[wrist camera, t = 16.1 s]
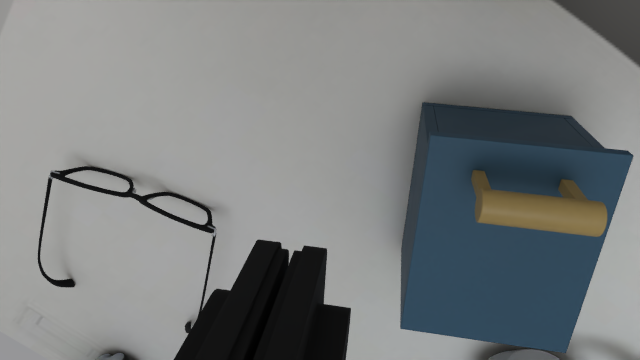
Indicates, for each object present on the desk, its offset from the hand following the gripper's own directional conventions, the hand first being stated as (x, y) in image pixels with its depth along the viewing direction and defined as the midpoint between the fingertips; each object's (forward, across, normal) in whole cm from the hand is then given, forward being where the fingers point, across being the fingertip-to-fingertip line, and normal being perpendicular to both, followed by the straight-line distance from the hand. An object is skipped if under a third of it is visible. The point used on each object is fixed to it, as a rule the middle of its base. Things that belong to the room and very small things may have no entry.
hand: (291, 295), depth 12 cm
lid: (+19, -10, +9) cm, 23 cm away
